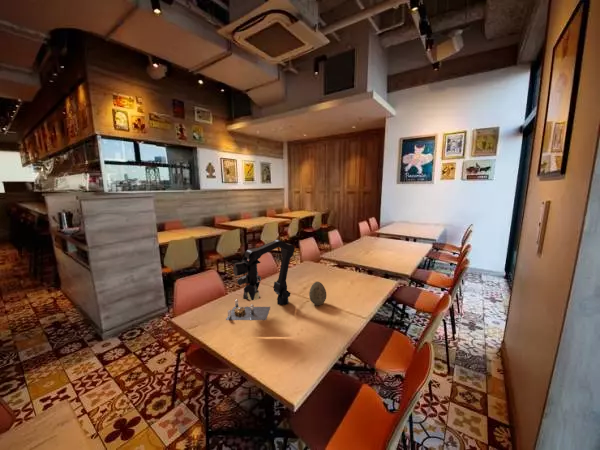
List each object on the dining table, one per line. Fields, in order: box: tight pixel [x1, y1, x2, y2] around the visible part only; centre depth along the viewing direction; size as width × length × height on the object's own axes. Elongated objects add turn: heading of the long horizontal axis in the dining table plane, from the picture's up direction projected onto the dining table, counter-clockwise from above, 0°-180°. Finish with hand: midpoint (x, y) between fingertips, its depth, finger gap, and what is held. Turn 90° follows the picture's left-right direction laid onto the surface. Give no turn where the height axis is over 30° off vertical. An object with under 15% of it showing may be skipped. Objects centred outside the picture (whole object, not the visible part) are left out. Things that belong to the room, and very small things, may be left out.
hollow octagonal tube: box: [247, 289, 260, 302], centre depth 139 cm, size 6×6×4 cm
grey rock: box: [242, 291, 248, 300], centre depth 164 cm, size 11×9×10 cm
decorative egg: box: [308, 281, 327, 306], centre depth 151 cm, size 11×11×15 cm
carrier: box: [225, 298, 271, 321], centre depth 141 cm, size 23×15×6 cm, turn 87°
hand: (253, 297), depth 139 cm, fingers closed on hollow octagonal tube, 6 cm apart
